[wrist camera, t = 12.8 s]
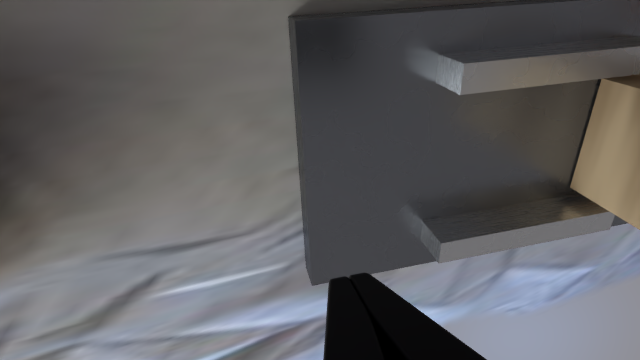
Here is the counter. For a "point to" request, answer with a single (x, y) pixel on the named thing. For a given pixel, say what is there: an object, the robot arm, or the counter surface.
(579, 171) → the oak block
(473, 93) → the chute
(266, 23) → the counter surface
